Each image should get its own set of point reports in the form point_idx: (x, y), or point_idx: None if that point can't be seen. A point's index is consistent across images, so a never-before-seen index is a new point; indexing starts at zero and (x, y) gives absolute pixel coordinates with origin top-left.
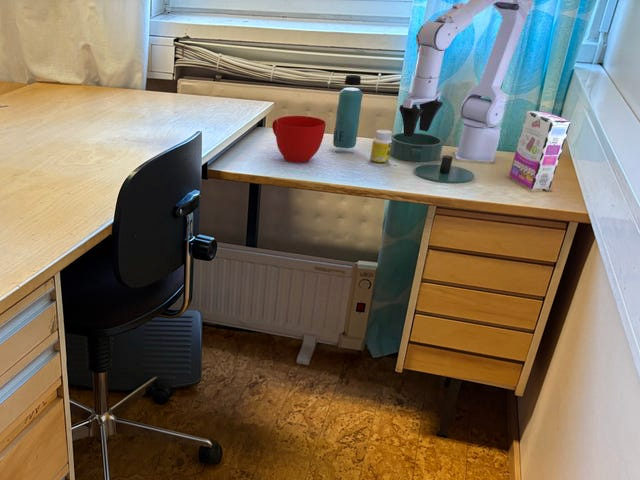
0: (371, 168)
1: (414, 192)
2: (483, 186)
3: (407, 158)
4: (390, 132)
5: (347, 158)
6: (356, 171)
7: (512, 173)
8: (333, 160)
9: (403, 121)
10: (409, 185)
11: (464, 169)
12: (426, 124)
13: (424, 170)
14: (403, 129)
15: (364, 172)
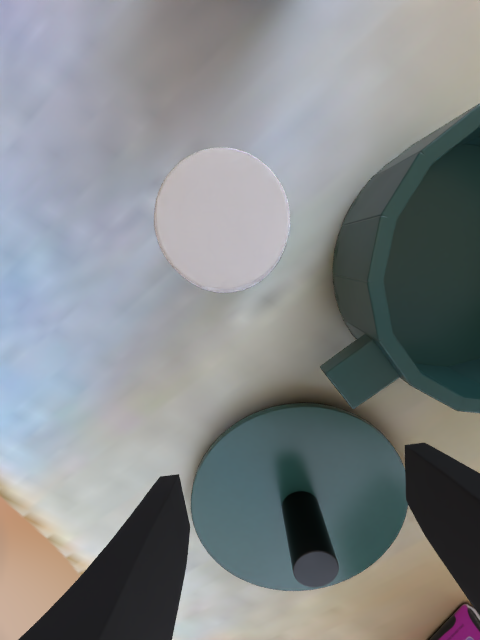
0: (144, 267)
1: (68, 537)
2: (313, 606)
3: (345, 312)
4: (242, 276)
5: (167, 68)
6: (51, 259)
7: (466, 635)
8: (73, 48)
9: (73, 591)
10: (110, 487)
11: (397, 521)
12: (442, 538)
13: (259, 452)
14: (138, 505)
15: (73, 290)
